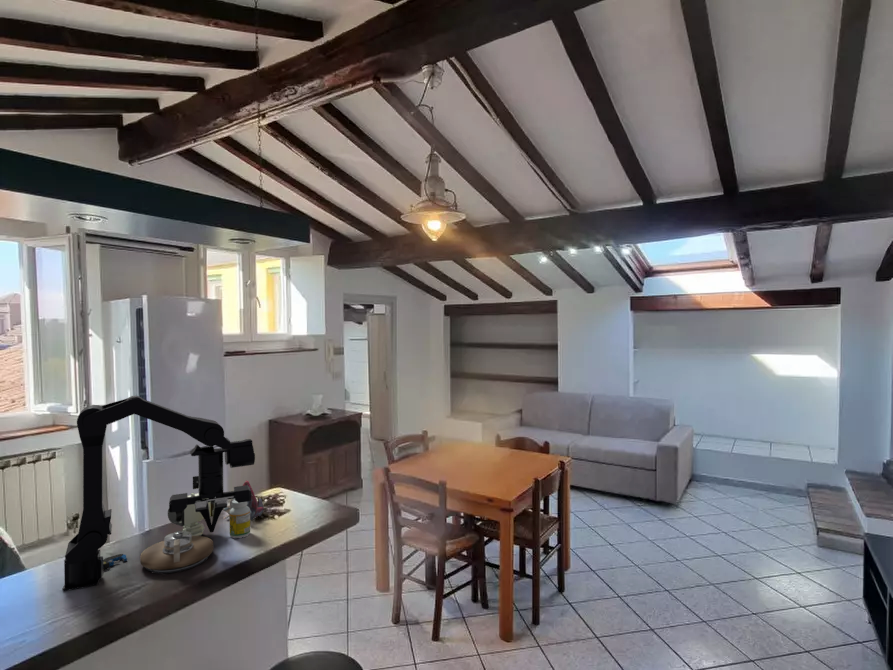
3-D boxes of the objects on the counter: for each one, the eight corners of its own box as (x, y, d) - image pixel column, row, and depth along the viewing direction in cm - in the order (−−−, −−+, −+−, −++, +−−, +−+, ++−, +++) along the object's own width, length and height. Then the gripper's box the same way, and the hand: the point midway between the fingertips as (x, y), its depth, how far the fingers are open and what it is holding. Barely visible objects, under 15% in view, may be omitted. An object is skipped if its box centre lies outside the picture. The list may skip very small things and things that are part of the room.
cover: (161, 557, 122) (161, 540, 122) (163, 546, 128) (163, 530, 128) (193, 551, 125) (193, 535, 125) (193, 541, 131) (193, 525, 131)
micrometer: (123, 550, 129) (131, 556, 126) (123, 558, 129) (131, 563, 126) (66, 566, 120) (73, 573, 117) (66, 574, 120) (73, 581, 117)
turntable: (136, 575, 116) (136, 551, 116) (143, 548, 130) (143, 527, 130) (214, 561, 123) (214, 538, 123) (212, 536, 137) (212, 517, 137)
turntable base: (142, 578, 117) (142, 573, 117) (148, 554, 130) (147, 550, 130) (209, 566, 123) (209, 561, 123) (208, 544, 136) (208, 540, 136)
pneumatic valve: (217, 531, 145) (217, 489, 145) (177, 546, 135) (176, 500, 135) (206, 527, 148) (205, 486, 148) (165, 541, 138) (165, 497, 138)
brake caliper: (277, 506, 158) (255, 481, 152) (252, 536, 151) (228, 512, 145) (256, 499, 165) (234, 475, 159) (231, 528, 158) (207, 504, 152)
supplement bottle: (251, 536, 141) (250, 502, 141) (230, 540, 138) (229, 505, 138) (249, 529, 146) (249, 496, 146) (229, 533, 143) (228, 499, 143)
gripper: (247, 459, 141) (248, 515, 141) (170, 467, 133) (171, 527, 133) (251, 469, 131) (251, 529, 131) (168, 478, 123) (169, 543, 123)
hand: (211, 531), depth 130 cm, fingers closed
